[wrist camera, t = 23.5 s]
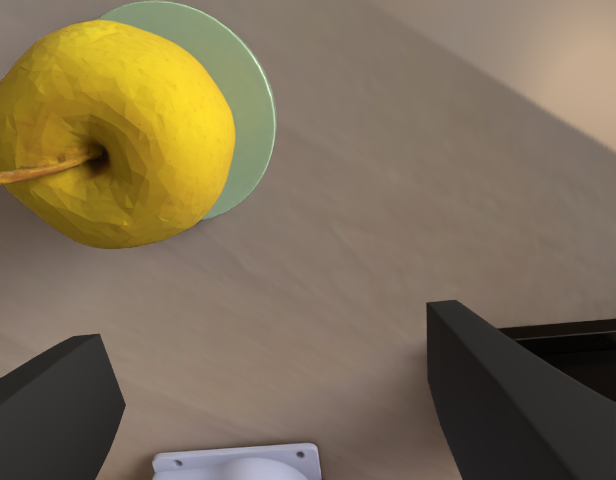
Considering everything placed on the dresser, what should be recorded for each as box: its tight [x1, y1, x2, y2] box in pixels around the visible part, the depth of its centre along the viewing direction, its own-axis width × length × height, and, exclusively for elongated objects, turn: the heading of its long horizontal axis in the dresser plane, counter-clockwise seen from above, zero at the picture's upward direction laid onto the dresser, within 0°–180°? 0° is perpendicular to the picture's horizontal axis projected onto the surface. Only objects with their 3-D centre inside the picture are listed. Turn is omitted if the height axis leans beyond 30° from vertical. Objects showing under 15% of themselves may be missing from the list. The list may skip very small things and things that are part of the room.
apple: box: [0, 20, 235, 249], centre depth 13 cm, size 6×6×8 cm
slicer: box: [498, 319, 616, 403], centre depth 18 cm, size 10×7×8 cm
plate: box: [97, 0, 277, 221], centre depth 17 cm, size 8×8×1 cm
